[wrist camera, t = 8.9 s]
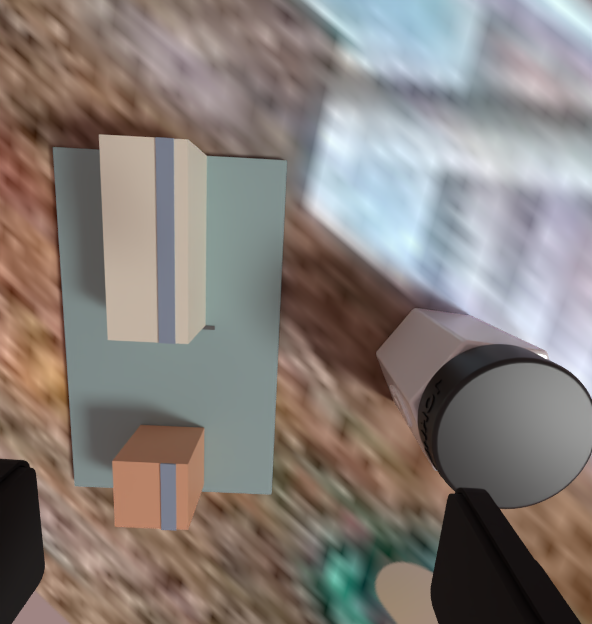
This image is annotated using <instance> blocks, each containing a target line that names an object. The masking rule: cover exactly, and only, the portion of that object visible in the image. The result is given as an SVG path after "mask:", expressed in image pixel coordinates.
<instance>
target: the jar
mask: <svg viewBox="0 0 592 624" xmlns="http://www.w3.org/2000/svg"><path fill="white" fill-rule="evenodd" d="M376 356H377V359H378V361H379V364H380V366H381V369H382V372H383V374H384V377H385V380H386V382H387V385H388V388H389V390H390V393H391V396H392V398H393V401H394V403H395V405H396V406H397V408H398V410H399V411H400V413H401V415H402V417H403V418H404V420H405V422H406V424H407V425H408V427H409V428H410V430H411V432H412V434H413V435H414V437H415V439H416V440H417V442H418V444H419V445H420V447H421V449H422V450H423V452H424V454H425V456H426V457H427V459H428V461H429V462H430V464H431V466H432V467H433V469H434V470H435V471H438V472H439V474H440V476H441V477H442V478H443V479H444V480H445V482H446V483H447V484H448V485H449V486H450V487H451V488H452V489H453V490H454V491H456V490H457V488H459V487H464V488H480V489H485V490H486V491H487V492H488V493H489V494H490V496H491V497H492V499H493V500H494V501H495V503H496V504H497V506H498V507H499V509H515V508H522V507H527V506H531V505H534V504H537V503H540V502H542V501H545V500H547V499H549V498H551V497H553V496H554V495H556V494H558V493H559V492H560V491H562V490H563V489H565V488H566V487H567V486H568V485H569V484H570V483H571V482H572V481H573V480H574V479H575V478H576V477H577V476H578V475H579V474H580V472H581V471H582V470H583V468H584V467H585V465H586V463H587V462H588V460H589V458H590V456H591V453H592V399H591V397H590V394H589V393H588V391H587V389H586V388H585V387H584V385H583V384H582V383H581V382H580V381H579V380H578V378H577V377H575V376H574V375H573V374H572V373H571V372H569V371H568V370H566V369H565V368H563V367H561V366H560V365H558V364H556V363H554V362H552V361H550V360H549V357H548V353H547V352H546V351H545V350H543V349H541V348H539V347H536V346H534V345H532V344H530V343H528V342H526V341H524V340H522V339H520V338H518V337H515V336H513V335H511V334H509V333H507V332H505V331H503V330H501V329H499V328H497V327H494V326H492V325H490V324H488V323H486V322H484V321H482V320H480V319H478V318H475V317H473V316H471V315H464V314H457V313H450V312H442V311H435V310H428V309H421V308H414V309H412V311H411V312H410V313H409V314H408V315H407V316H406V318H405V319H404V320H403V321H402V322H401V323H400V325H399V326H398V327H397V328H396V329H395V331H394V332H393V333H392V334H391V335H390V336H389V338H388V339H387V340H386V341H385V342H384V343H383V345H382V346H381V347H380V348H379V349H378V350H377V352H376Z"/></svg>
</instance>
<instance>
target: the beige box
mask: <svg viewBox="0 0 592 624" xmlns="http://www.w3.org/2000/svg"><path fill="white" fill-rule="evenodd" d="M99 149H100V173H101V196H102V219H103V242H104V266H105V289H106V312H107V335H108V340H115V341H135V342H156V343H165V344H175V343H176V344H189V343H190V342H191V341H192V340H193V338H194V337H195V336H196V335H197V334H198V333H199V332H200V331H201V330H202V329H203V328H204V327H205V325H206V203H207V156H206V155H205V154H204V153H203V152H202V151H201V150H200V149H198V148H197V147H196V146H195V145H194V144H193V143H191V142H190V141H189V140H187V139H174V138H160V137H155V138H153V137H136V136H119V135H101V134H99Z"/></svg>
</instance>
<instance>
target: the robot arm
mask: <svg viewBox="0 0 592 624" xmlns="http://www.w3.org/2000/svg"><path fill="white" fill-rule="evenodd" d="M44 569H45V561H44V551H43V541H42V530H41V520H40V510H39V500H38V489H37V479H36V472H35V470H34V469H33V468H30V466H29V464H28V462H27V461H24V460H11V459H0V624H12V622H13V621H14V620H15V618H16V617H17V615H18V614H19V612H20V611H21V609H22V608H23V607H24V605H25V604H26V602H27V601H28V599H29V598H30V596H31V595H32V594H33V592H34V591H35V589H36V588H37V586H38V585H39V583H40V581H41V579H42V576H43V573H44ZM431 601H432V606H433V609H434V612H435V615H436V618H437V621H438V623H439V624H581V623H580V621H579V620H578V618H577V617H576V615H575V614H574V613H573V611H572V610H571V608H570V607H569V605H568V604H567V603H566V601H565V600H564V598H563V597H562V595H561V594H560V592H559V591H558V590H557V588H556V587H555V585H554V584H553V582H552V581H551V580H550V578H549V577H548V575H547V574H546V572H545V571H544V570H543V568H542V567H541V566H540V564H539V563H538V562H537V561H536V560H535V559H534V558H533V557H532V555H531V554H530V552H529V551H528V549H527V548H526V546H525V545H524V543H523V542H522V541H521V539H520V538H519V536H518V535H517V533H516V532H515V530H514V529H513V528H512V526H511V525H510V523H509V522H508V520H507V519H506V517H505V516H504V515H503V513H502V512H501V510H500V509H499V507H498V506H497V504H496V503H495V501H494V500H493V499H492V497H491V496H490V494H489V493H488V492H487V491H486V490H485V489H480V488H464V487H459V488H457V490H456V491H455V494H449V496H448V499H447V504H446V509H445V514H444V520H443V525H442V530H441V536H440V541H439V546H438V551H437V557H436V562H435V567H434V572H433V578H432V583H431Z"/></svg>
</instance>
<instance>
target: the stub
mask: <svg viewBox="0 0 592 624" xmlns="http://www.w3.org/2000/svg"><path fill="white" fill-rule="evenodd" d="M112 468H113V491H114V514H115V527H134V528H159V529H161V530H176V529H183V530H188V529H189V526H190V523H191V520H192V517H193V514H194V511H195V509H196V506H197V503H198V500H199V497H200V494H201V491H202V489H203V486H204V428H200V427H178V426H156V425H140V426H139V427H138V429H137V430H136V431H135V433H134V434H133V435H132V436H131V438H130V439H129V440H128V441H127V443H126V444H125V445H124V447H123V448H122V449H121V450H120V452H119V453H118V454H117V455H116V457H115V458H114V459H113V461H112Z"/></svg>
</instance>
